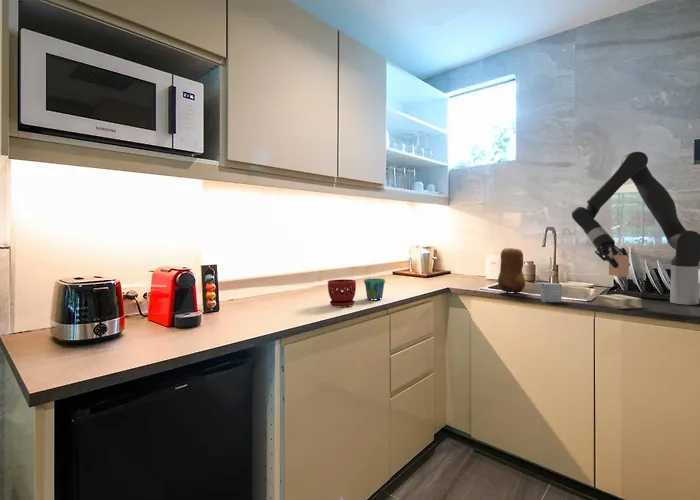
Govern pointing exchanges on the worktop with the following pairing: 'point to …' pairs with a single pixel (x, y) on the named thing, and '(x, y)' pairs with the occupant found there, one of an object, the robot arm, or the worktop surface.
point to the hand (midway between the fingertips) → (622, 266)
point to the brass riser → (619, 301)
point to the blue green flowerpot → (374, 288)
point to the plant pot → (345, 296)
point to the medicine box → (551, 292)
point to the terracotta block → (620, 266)
